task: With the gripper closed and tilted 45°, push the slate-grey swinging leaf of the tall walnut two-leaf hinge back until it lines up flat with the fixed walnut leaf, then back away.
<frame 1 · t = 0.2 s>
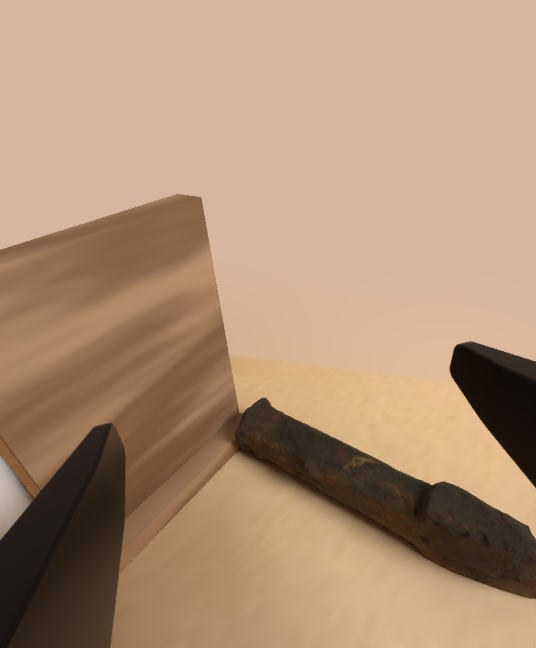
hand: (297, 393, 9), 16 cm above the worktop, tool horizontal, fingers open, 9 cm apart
hand tool: (367, 497, 24), on the worktop
hinge frame: (57, 582, 21), on the worktop
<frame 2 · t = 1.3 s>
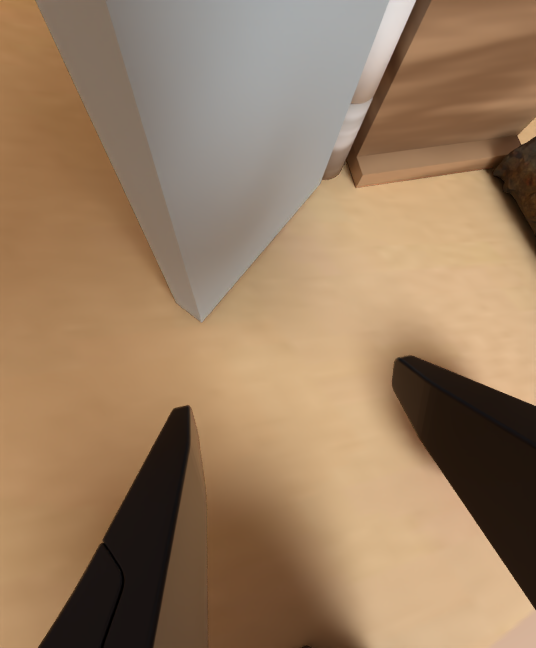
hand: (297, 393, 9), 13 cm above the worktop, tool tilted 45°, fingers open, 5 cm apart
hinged leaf: (289, 112, 16), point 9 cm above the worktop, hinge at 40.0°
hinge frame: (322, 162, 26), on the worktop
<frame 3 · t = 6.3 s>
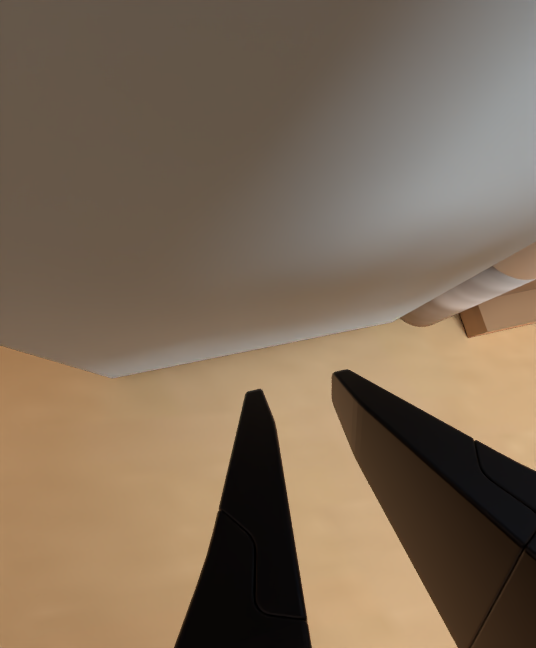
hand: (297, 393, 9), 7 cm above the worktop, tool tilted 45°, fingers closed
hinged leaf: (357, 221, 8), point 9 cm above the worktop, hinge at -0.4°
hinge frame: (418, 297, 18), on the worktop
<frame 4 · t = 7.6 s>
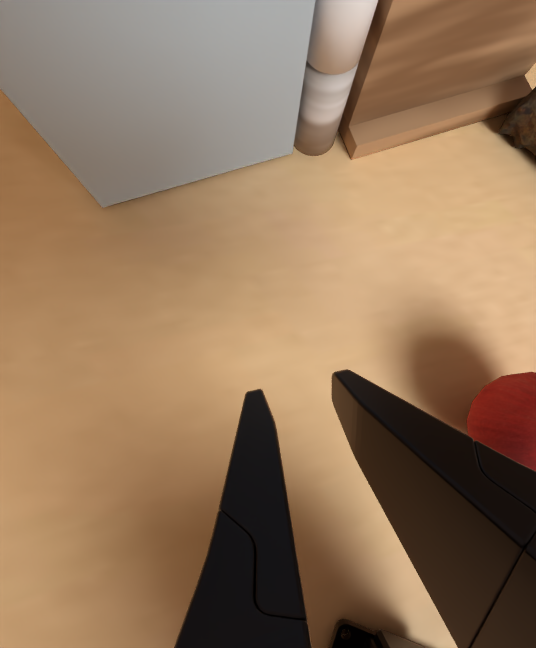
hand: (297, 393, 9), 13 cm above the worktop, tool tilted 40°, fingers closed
hinged leaf: (197, 25, 15), point 9 cm above the worktop, hinge at -0.4°
hinge frame: (312, 136, 25), on the worktop
onion: (484, 423, 22), on the worktop
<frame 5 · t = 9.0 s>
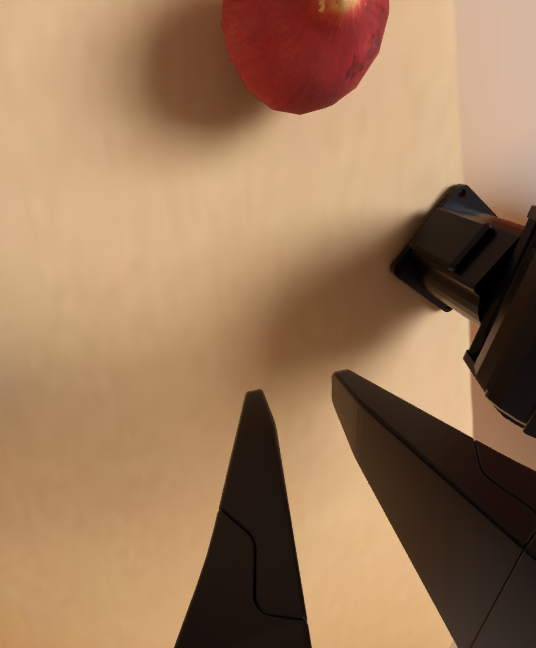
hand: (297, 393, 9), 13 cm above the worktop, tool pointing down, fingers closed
onion: (276, 39, 16), on the worktop
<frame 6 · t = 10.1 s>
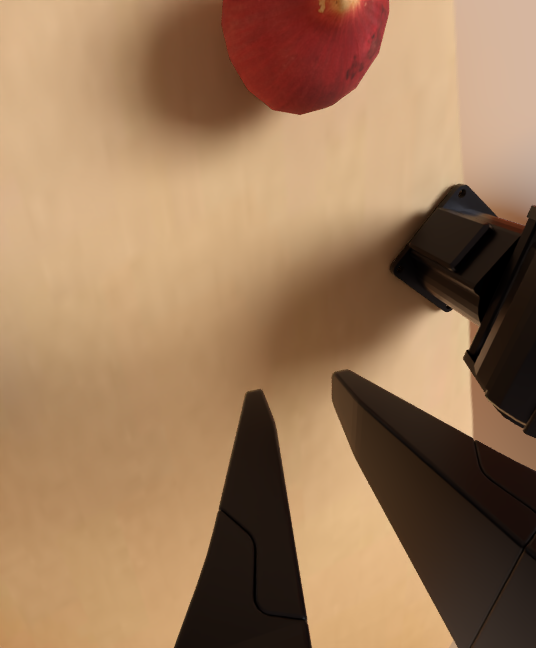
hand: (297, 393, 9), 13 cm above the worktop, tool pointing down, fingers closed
onion: (276, 39, 16), on the worktop
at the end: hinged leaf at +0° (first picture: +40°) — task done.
